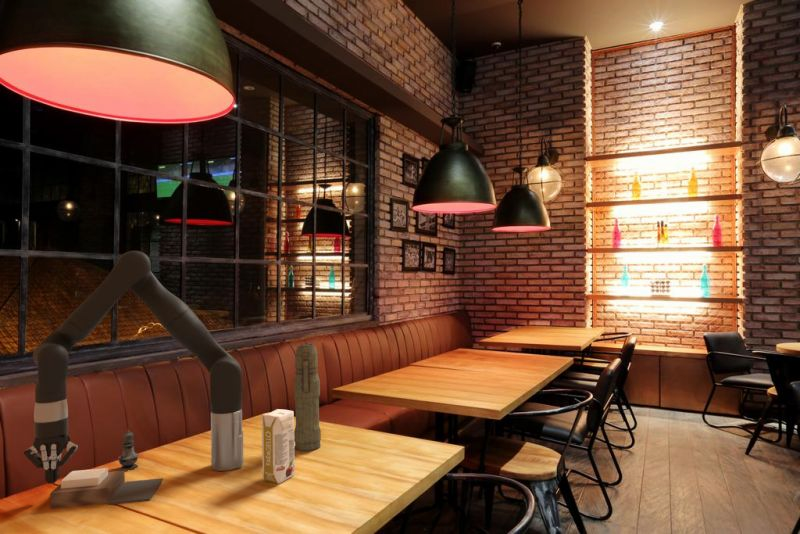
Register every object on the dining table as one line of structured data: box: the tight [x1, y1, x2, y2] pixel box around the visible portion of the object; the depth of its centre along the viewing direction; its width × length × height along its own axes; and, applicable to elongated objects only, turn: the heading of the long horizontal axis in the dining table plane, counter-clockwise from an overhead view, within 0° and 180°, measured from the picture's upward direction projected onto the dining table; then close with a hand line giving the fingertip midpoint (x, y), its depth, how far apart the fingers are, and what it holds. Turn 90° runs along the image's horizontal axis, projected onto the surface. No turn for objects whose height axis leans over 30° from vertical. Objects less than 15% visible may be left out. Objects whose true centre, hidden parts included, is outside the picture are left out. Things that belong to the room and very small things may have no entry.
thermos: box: [293, 343, 322, 453], centre depth 176 cm, size 9×12×35 cm
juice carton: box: [261, 408, 296, 484], centre depth 150 cm, size 8×9×19 cm
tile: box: [60, 467, 109, 489], centre depth 139 cm, size 9×7×2 cm
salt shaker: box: [117, 429, 140, 472], centre depth 160 cm, size 6×6×12 cm
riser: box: [49, 470, 126, 510], centre depth 139 cm, size 14×12×4 cm
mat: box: [108, 477, 164, 505], centre depth 142 cm, size 10×14×1 cm
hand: (52, 482), depth 138 cm, fingers closed
